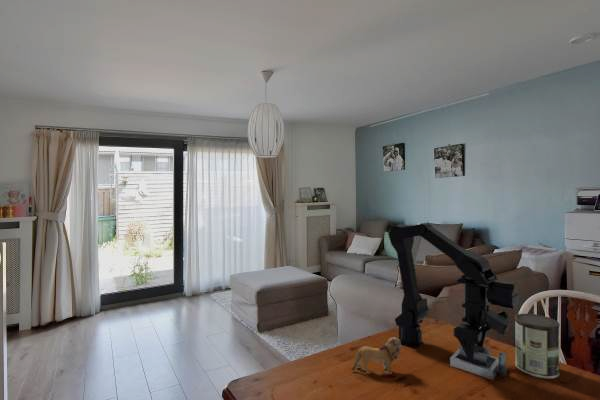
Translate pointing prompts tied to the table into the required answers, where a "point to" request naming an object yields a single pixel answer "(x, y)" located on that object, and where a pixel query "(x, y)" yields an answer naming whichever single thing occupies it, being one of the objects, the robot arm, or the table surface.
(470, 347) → the robot arm
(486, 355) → the block
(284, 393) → the table surface
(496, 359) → the keeper cradle
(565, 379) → the table surface
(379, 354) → the lion figurine
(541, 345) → the coffee can
